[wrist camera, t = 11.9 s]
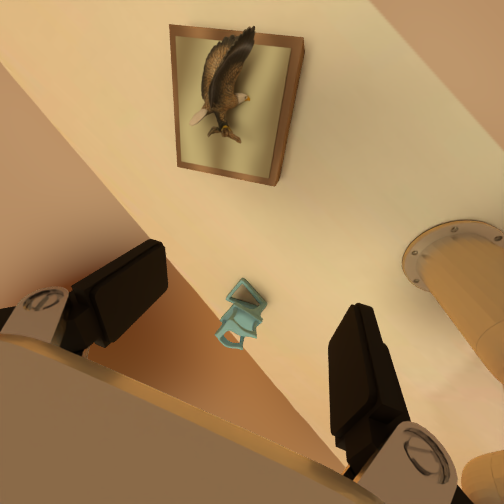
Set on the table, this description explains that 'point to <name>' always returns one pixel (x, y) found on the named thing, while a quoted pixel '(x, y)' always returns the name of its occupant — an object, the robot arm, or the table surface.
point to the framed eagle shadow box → (243, 115)
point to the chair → (241, 317)
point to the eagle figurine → (224, 80)
